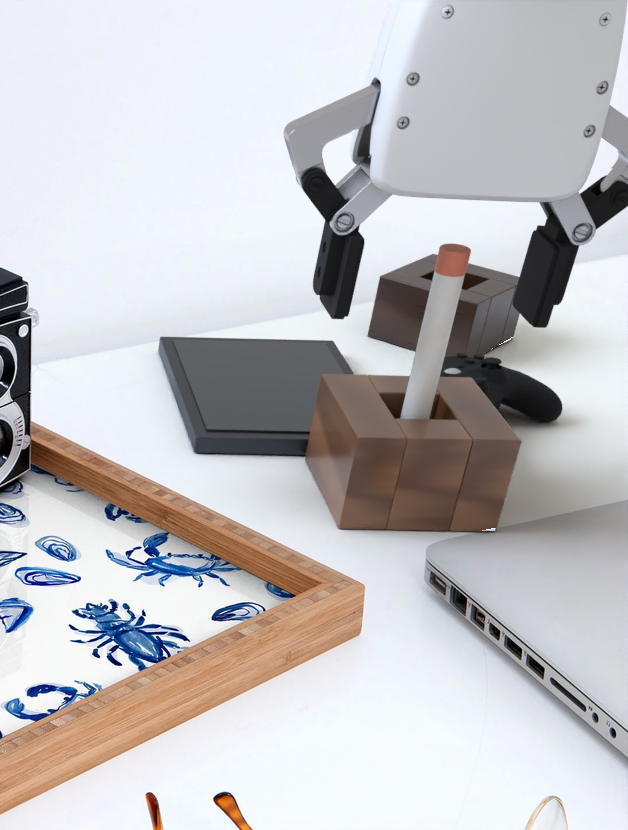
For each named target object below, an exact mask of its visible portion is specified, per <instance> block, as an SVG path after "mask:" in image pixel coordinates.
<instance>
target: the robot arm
mask: <svg viewBox="0 0 628 830" xmlns="http://www.w3.org/2000/svg"><path fill="white" fill-rule="evenodd" d="M627 9H628V0H389V3H388V6H387V9H386V12H385V16H384V19H383V21H382V24H381V27H380V31H379V33H378V37H377V39H376V44H375V47H374V50H373V52H372V57H371V60H370V63H369V66H368V71H367V73H366V77H365V80H364V84H363V88H362V89H359V90H357V91H354V92H352V93H351V94H348V95H346V96H344V97H342V98H339V99H337V100H335V101H333V102H331V103H328V104H327V105H324V106H322V107H320V108H318V109H315V110H313V111H311V112H309V113H307V114H305V115H302V116H300V117H297V118H296V119H294V120H291V121H290V122H288V123H287V124H286V125H285V126H284V129H283V132H282V133H283V139H284V143H285V146H286V149H287V153H288V155H289V158H290V162H291V166H292V168H293V171H294V174H295V181H296V183H297V185H299V187H300V189H301V190H302V191H303V192H304V194H305V195H306V196H307V198H308V199H309V201H310V202H311V203H312V204H313V207H315V209H316V210H317V211H318V213H319V214H320V215H321V216H322V218H323V220H324V223H323V228H322V233H321V239H320V242H319V243H320V244H319V249H318V253H317V258H316V263H315V267H314V272H313V279H312V289H313V292H314V294H315V295H316V296H319V301H320V303H321V304H322V306H323V307H324V309H325V311H326V312H327V314H328V315H329V317H330V318H331V319H332V320H344V319H345V317H346V318H347V317H349V314H350V311H351V306H352V303H353V302H352V301H353V298H354V293H355V289H356V284H357V280H358V275H359V270H360V266H361V262H362V257H363V253H364V249H365V237H364V236H363V235H362V234H361V232H360V227H361V226H360V225H362V223H364V221H366V220H367V219H368V218H369V217H370V216H371V215H372V214H373V213H374V212H375V211H376V210H378V209H379V208H380V207H381V206H382V205H383V204H384V203H385V202H386V201H387V200H389V198H390V197H392V196H398V197H408V198H409V197H410V198H421V199H423V198H424V199H439V200H440V199H441V200H443V199H444V200H463V201H484V202H485V201H487V202H510V203H511V202H512V203H539V205H540V207H541V209H542V211H543V212H544V215H545V217H546V219H545V223H544V225H539V224H537V225H536V229H534V230H533V231H532V232H531V235H530V239H529V243H528V246H527V249H526V253H525V257H524V260H523V264H522V266H521V271H520V274H519V276H518V277H519V281H518V284H517V288H516V291H515V294H514V298H513V307H514V308H515V309H516V310H517V311H518V312H519V313H520V316H521V317H522V318H523V319H524V320H525V321H526V322H527V323H528V324H529V325H531V326H532V327H533V328H540V329H545V328H547V327H548V325H549V323H550V320H551V317H552V313H553V310H554V307H555V306H559V305H560V304H561V303H562V301H563V300H564V298H565V294H566V291H567V287H568V285H569V281H570V278H571V275H572V271H573V267H574V264H575V261H576V258H577V255H578V251H579V248H580V246H584V245H586V244H588V243H589V242H591V241H592V240H593V238H594V237H595V235H596V232H597V230H598V229H600V228H601V227H602V226H603V225H605V224H606V223H607V222H609V221H610V220H612V219H613V218H614V217H615V216H617V215H618V214H620V213H621V212H622V211H623V210H625V209H626V208H627V207H628V117H627V116H626V115H625V114H623V113H622V112H620V111H619V110H617V109H616V108H615V107H614V106H613V105H611V101H612V96H613V91H614V87H615V82H616V77H617V73H618V69H619V62H620V58H621V57H620V56H621V51H622V45H623V39H624V32H625V26H626V19H627ZM350 133H351V137H350V145H349V155H350V158H351V161H352V162H353V164H355V166H354V167H353V168H352V169H351V170H349V172H347V174H345V175H344V176H343V178H341V179H340V180H339V181H338V182H337V183H336V184H335V183H334V182H333V181H332V179H331V178H330V177H329V176H328V173H327V170H326V167H325V164H324V159H323V151H324V147H325V146H326V145H327V144H328V143H330V142H332V141H334V140H337V139H339V138H341V137H343V136H345V135H348V134H350ZM601 140H604V141H605V142H607V143H608V144H610V146H612V147H614V148H615V149H616V150H617V153H618V156H617V159H616V161H615V162H614V164H613V165H612V166H611V170H610V171H609V172H608V174H606V175H603V176H602V177H600V178H599V179H598V180H596V181H595V182H593V183H592V184H591V185H590V186H588V187H586V189H584V190H583V191H582V192H580V191H581V190H582V189H583V187H584V186H585V184H586V182H587V180H588V178H589V176H590V173H591V171H592V169H593V165H594V163H595V160H596V157H597V155H598V154H597V153H598V150H599V148H600V143H601Z"/></svg>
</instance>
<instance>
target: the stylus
mask: <svg viewBox="0 0 628 830" xmlns="http://www.w3.org/2000/svg"><path fill="white" fill-rule="evenodd" d="M471 253H472V250H471V248H470V247H468V246H467V245H463V244H459V243H444V244H441V245H440V246H439V248H438V252H437V255H438V256H437V261H436V265H435V269H434V270H435V271H434V275H433V280H432V284H431V288H430V292H429V297H428V301H427V305H426V310H425V314H424V318H423V322H422V327H421V331H420V335H419V339H418V344H417V348H416V351H414V356H413V361H412V366H411V369H410V374H409V376H410V378H409V382H408V386H407V391H406V395H405V399H404V403H403V408H402V412H401V416H400V419H429V418H430V414H431V410H432V406H433V402H434V398H435V394H436V389H437V385H438V381H439V377H440V373H441V369H442V365H443V361H444V357H445V353H446V349H447V345H448V341H449V337H450V333H451V329H452V325H453V321H454V317H455V312H456V308H457V304H458V300H459V296H460V292H461V288H462V284H463V280H464V276H465V273H466V270H467V266H468V263H470V262H469V261H470V257H471Z"/></svg>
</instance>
